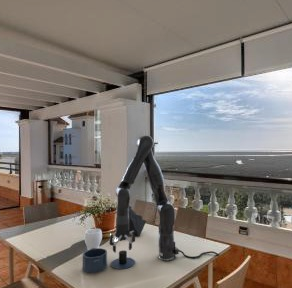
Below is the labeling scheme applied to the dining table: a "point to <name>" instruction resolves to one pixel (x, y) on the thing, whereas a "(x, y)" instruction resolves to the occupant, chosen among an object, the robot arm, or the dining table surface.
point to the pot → (94, 260)
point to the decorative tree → (135, 222)
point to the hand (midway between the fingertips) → (122, 250)
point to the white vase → (93, 238)
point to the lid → (122, 261)
